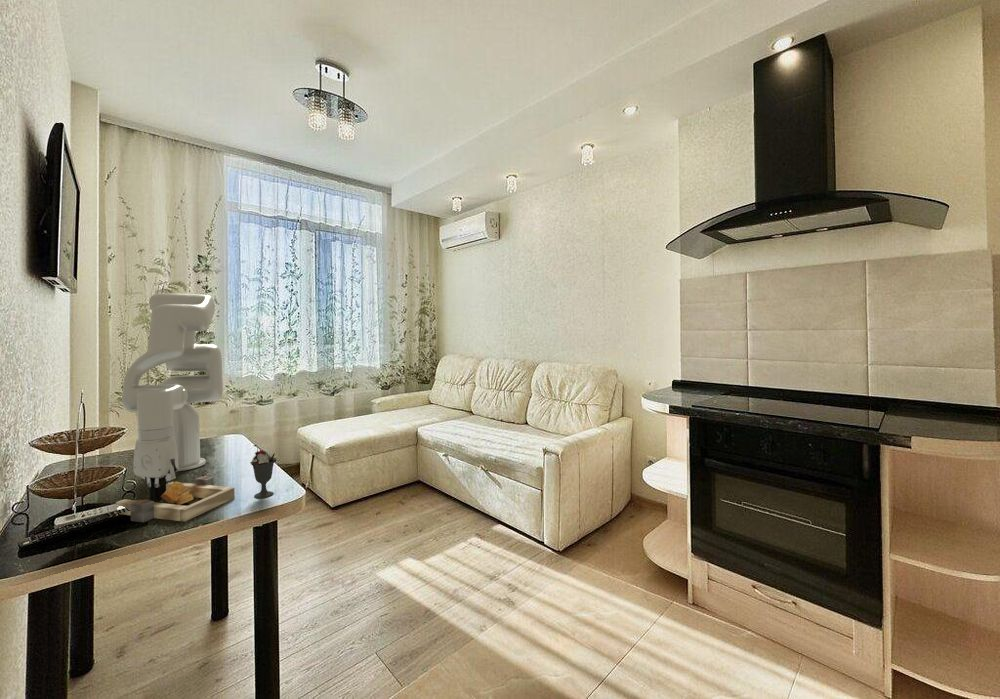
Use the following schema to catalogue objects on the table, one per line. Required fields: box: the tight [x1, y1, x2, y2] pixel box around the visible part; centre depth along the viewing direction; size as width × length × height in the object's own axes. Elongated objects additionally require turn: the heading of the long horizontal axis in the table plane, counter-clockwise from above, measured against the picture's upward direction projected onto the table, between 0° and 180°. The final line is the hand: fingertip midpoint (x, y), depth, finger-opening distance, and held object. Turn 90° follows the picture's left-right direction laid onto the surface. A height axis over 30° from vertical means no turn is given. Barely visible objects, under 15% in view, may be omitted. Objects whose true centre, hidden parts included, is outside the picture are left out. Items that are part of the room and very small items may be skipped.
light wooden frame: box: [115, 475, 235, 523], centre depth 113 cm, size 22×20×5 cm
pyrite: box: [161, 480, 194, 505], centre depth 114 cm, size 5×7×4 cm
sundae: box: [249, 444, 277, 499], centre depth 120 cm, size 7×7×15 cm
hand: (158, 499), depth 114 cm, fingers closed
